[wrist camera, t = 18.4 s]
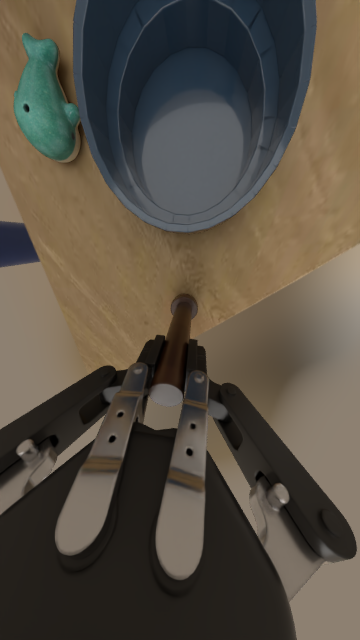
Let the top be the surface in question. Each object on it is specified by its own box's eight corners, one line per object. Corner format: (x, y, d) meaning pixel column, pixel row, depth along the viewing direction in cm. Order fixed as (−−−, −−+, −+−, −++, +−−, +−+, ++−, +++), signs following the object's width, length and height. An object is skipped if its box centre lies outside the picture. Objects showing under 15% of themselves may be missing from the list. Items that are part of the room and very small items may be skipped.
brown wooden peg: (171, 316, 23) (138, 408, 10) (172, 292, 21) (135, 370, 9) (195, 319, 22) (192, 417, 10) (199, 295, 21) (199, 379, 8)
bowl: (126, 228, 19) (95, 224, 13) (111, 23, 12) (36, -164, 7) (242, 239, 18) (263, 239, 13) (294, 25, 12) (388, -183, 6)
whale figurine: (38, 158, 17) (-2, 138, 13) (20, 43, 13) (-40, -22, 10) (91, 172, 17) (64, 156, 14) (86, 62, 13) (49, 3, 10)
